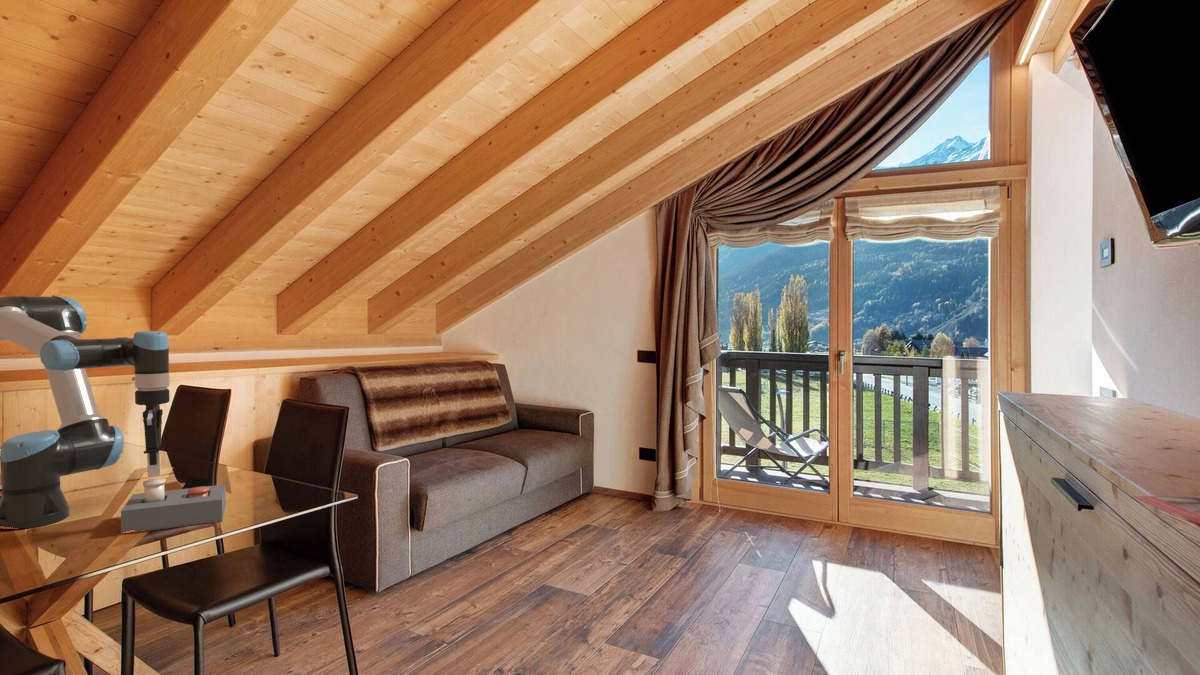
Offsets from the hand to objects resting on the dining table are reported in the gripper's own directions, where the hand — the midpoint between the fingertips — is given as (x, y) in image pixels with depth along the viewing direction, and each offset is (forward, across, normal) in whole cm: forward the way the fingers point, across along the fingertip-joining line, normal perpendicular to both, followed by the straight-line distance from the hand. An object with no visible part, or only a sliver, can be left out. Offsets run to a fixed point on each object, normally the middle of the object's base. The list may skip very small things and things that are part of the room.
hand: (154, 475), depth 167 cm
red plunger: (+12, 0, +10) cm, 15 cm away
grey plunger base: (+12, 0, +5) cm, 13 cm away
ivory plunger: (+8, 0, 0) cm, 8 cm away
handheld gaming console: (+13, -20, +5) cm, 24 cm away
